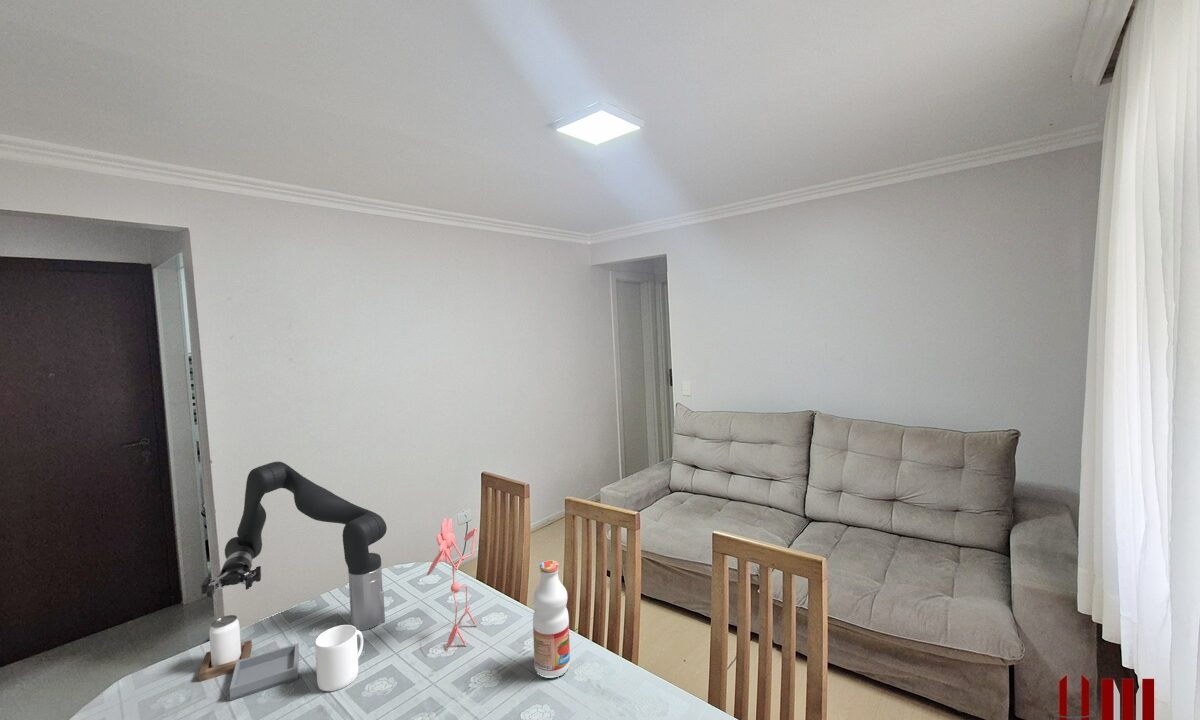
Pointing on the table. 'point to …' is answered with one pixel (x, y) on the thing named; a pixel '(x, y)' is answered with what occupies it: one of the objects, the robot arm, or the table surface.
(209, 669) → the walnut collar
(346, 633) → the mug
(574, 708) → the table surface
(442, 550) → the figurine
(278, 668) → the grey shallow rectangular tray
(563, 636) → the fruit juice
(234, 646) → the can
